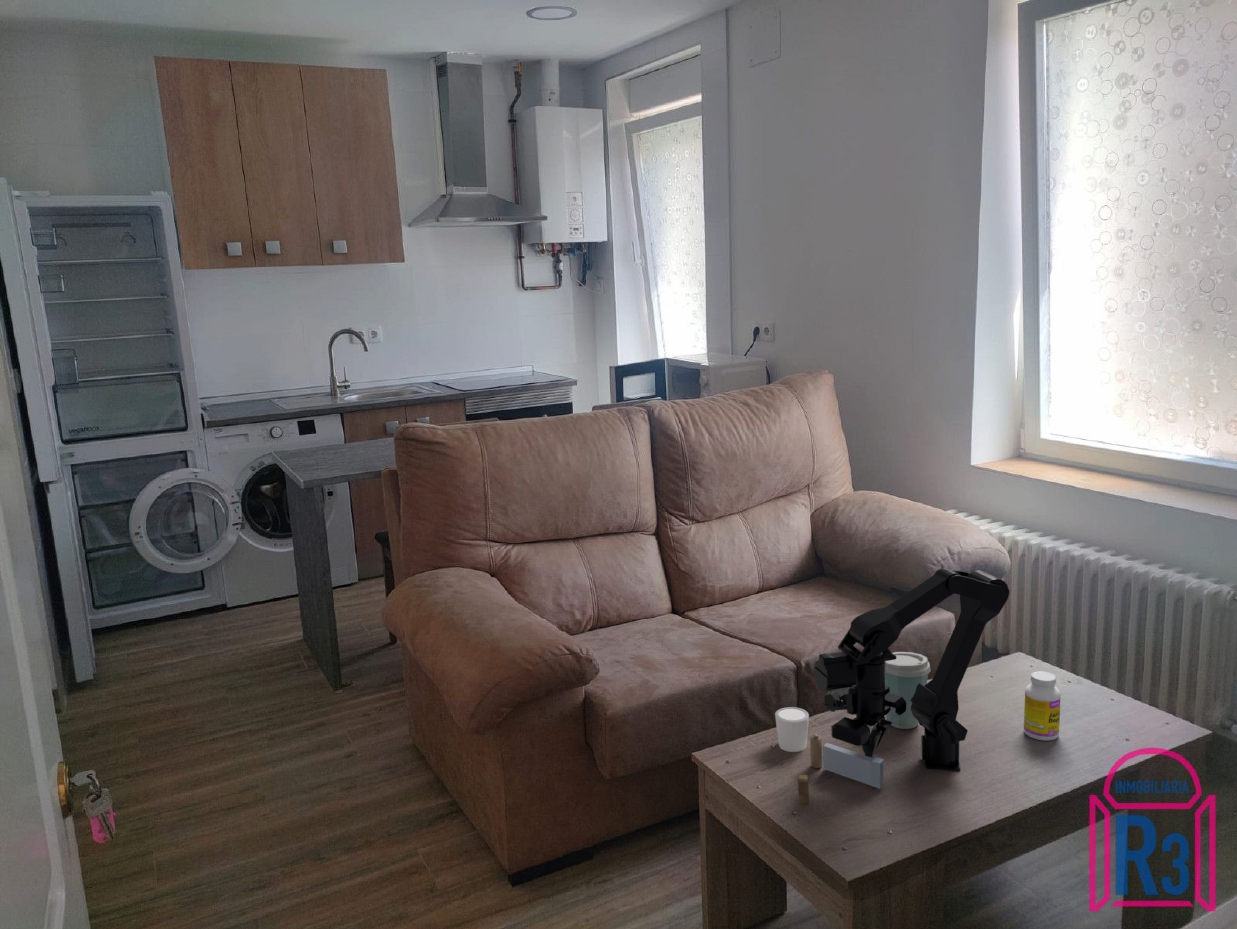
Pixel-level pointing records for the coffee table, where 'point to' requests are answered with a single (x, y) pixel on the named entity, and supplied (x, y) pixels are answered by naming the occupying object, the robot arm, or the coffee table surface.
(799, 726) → the white cup
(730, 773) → the coffee table surface
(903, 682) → the disposable coffee cup
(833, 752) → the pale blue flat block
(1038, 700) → the supplement bottle
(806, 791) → the brown rectangular block
